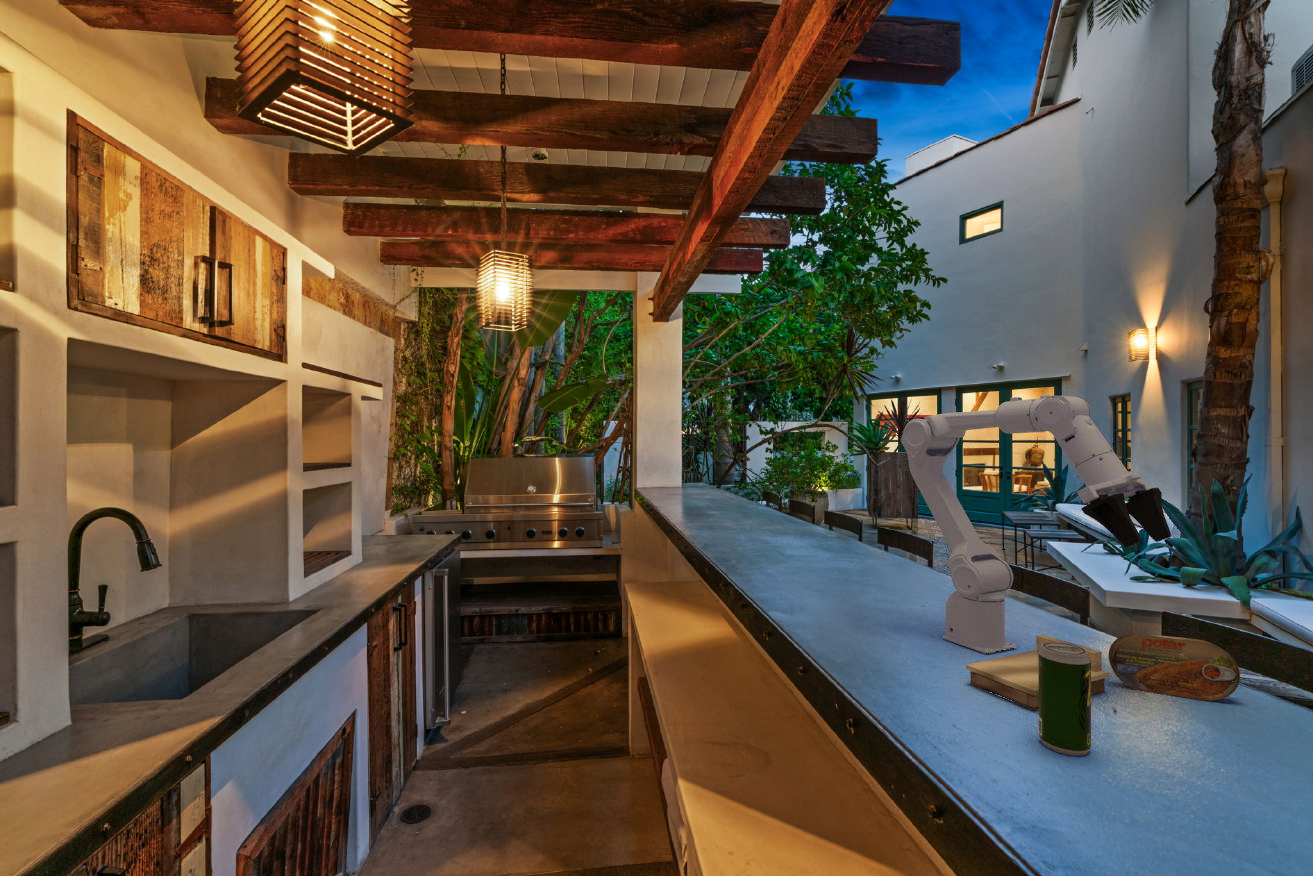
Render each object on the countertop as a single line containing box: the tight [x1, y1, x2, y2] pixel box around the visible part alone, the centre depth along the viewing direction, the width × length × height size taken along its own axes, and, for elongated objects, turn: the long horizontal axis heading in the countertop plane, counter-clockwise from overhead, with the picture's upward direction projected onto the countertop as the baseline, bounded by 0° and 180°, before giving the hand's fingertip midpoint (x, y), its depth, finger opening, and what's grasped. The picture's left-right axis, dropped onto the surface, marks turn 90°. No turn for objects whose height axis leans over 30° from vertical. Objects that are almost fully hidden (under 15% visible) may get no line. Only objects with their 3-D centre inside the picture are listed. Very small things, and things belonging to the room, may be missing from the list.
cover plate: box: [965, 634, 1110, 696], centre depth 92 cm, size 11×17×4 cm, turn 114°
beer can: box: [1038, 642, 1092, 757], centre depth 75 cm, size 5×5×12 cm
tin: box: [1108, 632, 1241, 702], centre depth 91 cm, size 15×3×8 cm, turn 62°
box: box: [969, 671, 1106, 712], centre depth 92 cm, size 10×16×2 cm, turn 114°
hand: (1149, 541), depth 89 cm, fingers open, 7 cm apart
